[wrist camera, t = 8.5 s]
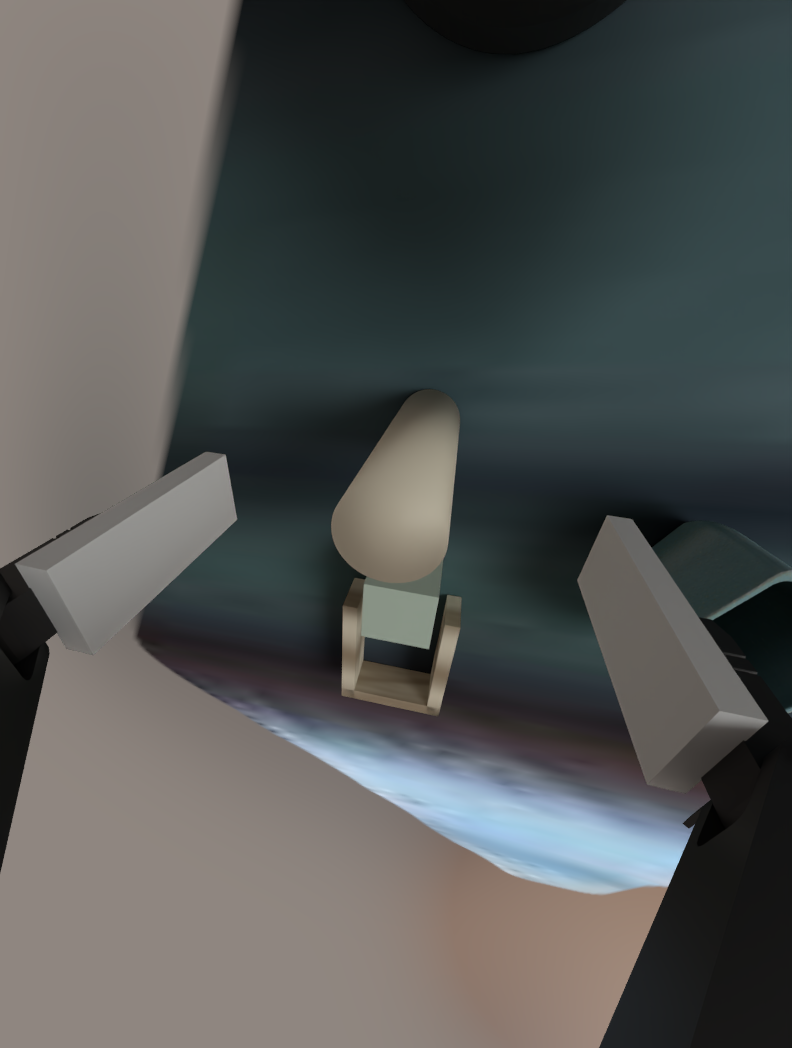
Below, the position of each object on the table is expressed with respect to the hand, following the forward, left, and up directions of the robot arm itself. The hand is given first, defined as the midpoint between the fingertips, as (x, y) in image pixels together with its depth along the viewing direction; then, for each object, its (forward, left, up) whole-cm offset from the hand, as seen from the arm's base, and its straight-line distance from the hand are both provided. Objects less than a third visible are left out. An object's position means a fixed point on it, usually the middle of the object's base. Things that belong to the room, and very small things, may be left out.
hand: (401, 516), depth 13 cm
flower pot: (+8, +19, -14) cm, 24 cm away
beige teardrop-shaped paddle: (+7, 0, -13) cm, 15 cm away
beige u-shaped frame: (+21, 0, -13) cm, 25 cm away
